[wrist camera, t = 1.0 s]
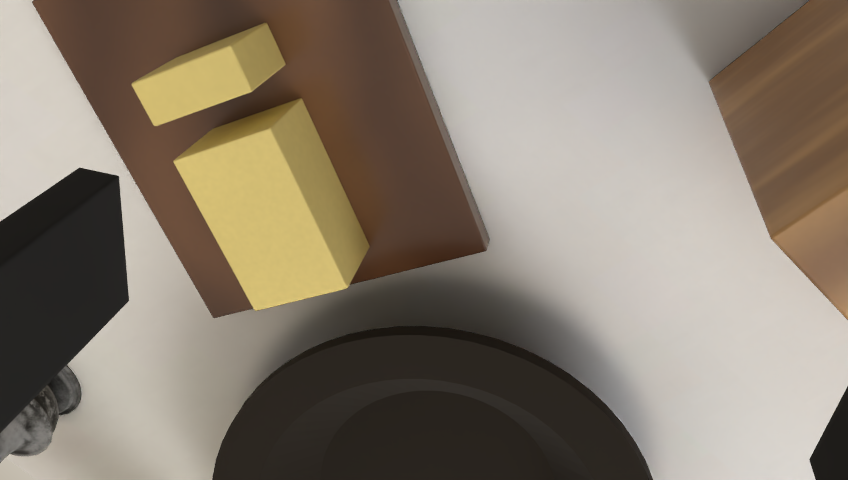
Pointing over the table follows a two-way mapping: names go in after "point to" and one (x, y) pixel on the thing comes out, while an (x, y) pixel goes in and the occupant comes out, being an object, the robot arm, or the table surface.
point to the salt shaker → (41, 417)
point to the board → (300, 78)
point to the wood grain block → (797, 138)
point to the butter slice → (209, 75)
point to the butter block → (275, 206)
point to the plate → (425, 415)
